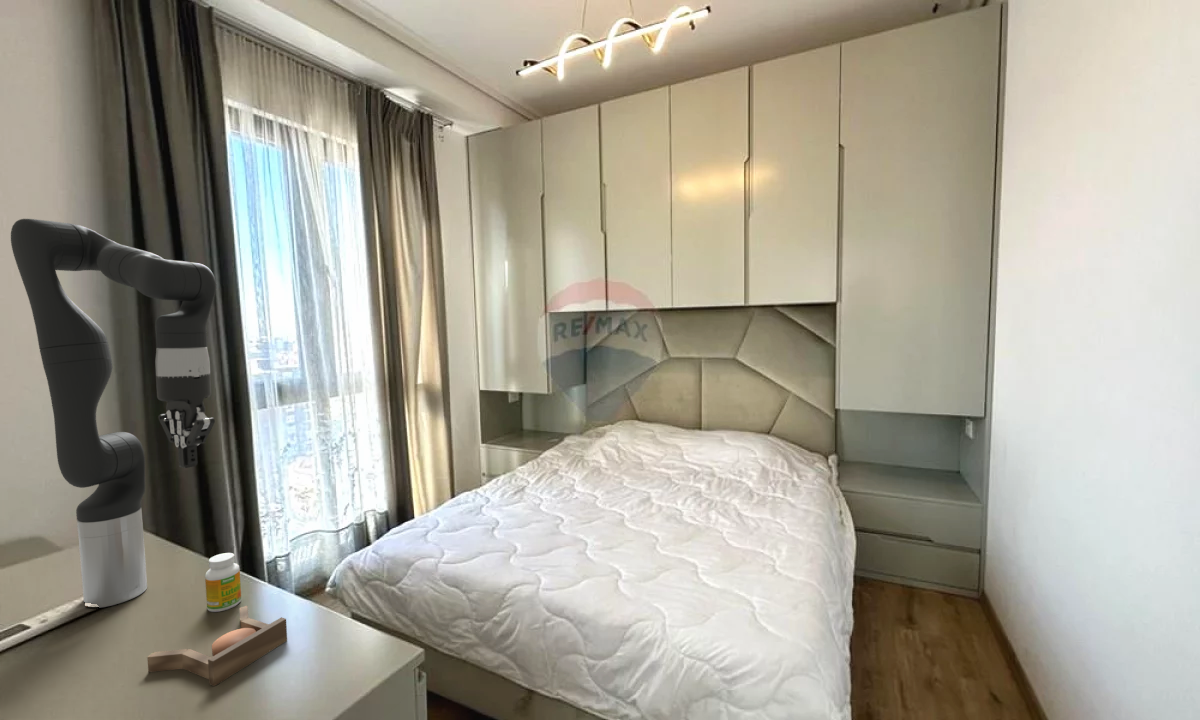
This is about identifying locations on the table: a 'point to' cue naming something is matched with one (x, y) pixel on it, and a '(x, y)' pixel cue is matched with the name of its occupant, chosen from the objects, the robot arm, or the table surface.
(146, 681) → the table surface
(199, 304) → the robot arm
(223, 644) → the salmon orange rounded piece
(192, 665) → the dock
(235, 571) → the supplement bottle
